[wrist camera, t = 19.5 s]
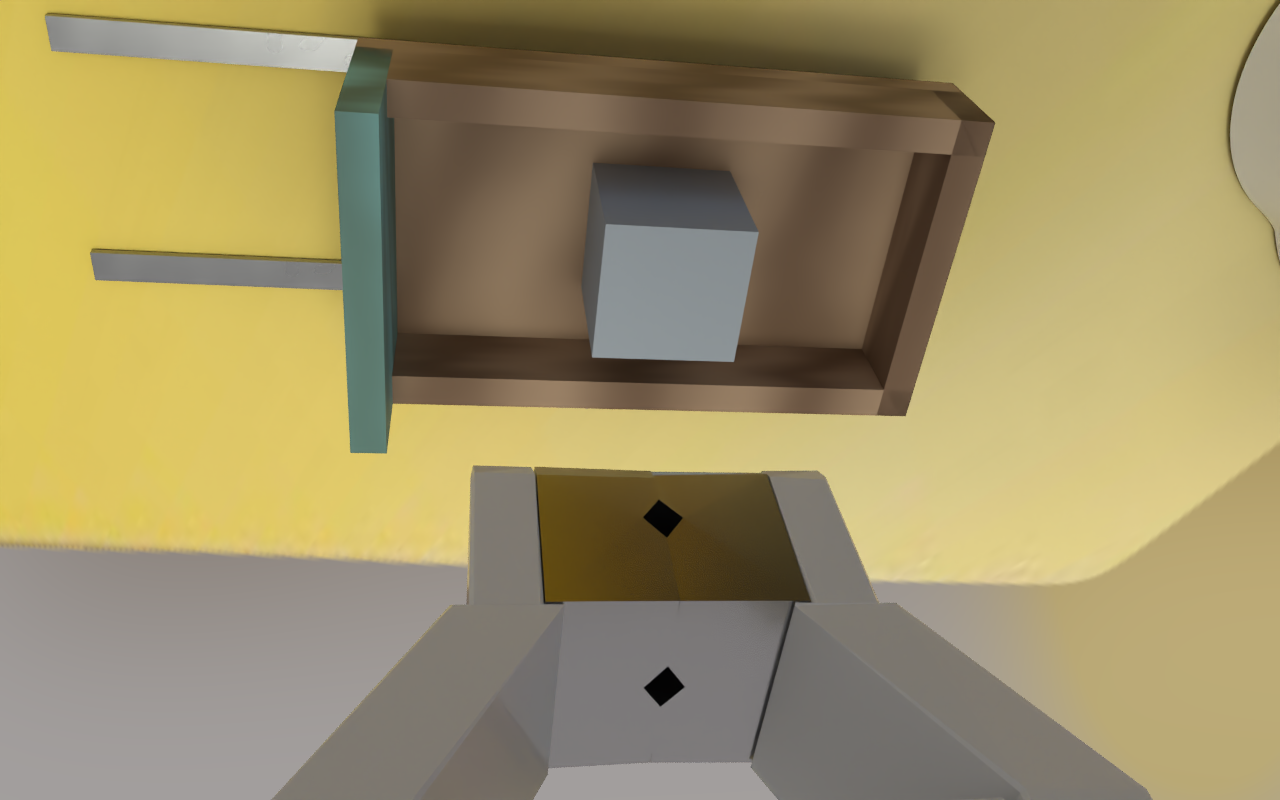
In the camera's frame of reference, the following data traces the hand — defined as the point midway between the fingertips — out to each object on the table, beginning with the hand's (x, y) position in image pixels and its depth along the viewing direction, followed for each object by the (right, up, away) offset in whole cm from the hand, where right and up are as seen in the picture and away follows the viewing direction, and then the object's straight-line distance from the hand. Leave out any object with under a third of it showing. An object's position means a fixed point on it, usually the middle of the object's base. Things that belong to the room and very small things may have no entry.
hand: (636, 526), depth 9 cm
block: (+1, +7, +31) cm, 32 cm away
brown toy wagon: (0, +10, +34) cm, 35 cm away
